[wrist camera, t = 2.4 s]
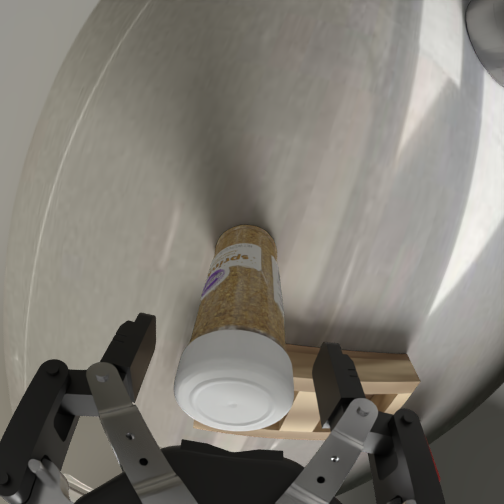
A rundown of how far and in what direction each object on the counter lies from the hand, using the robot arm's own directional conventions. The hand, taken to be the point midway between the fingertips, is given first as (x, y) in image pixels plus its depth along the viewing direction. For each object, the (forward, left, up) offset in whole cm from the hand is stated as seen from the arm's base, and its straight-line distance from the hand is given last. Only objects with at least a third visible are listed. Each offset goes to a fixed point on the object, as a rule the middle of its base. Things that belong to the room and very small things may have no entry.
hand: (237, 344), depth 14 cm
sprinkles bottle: (0, 0, -10) cm, 10 cm away
